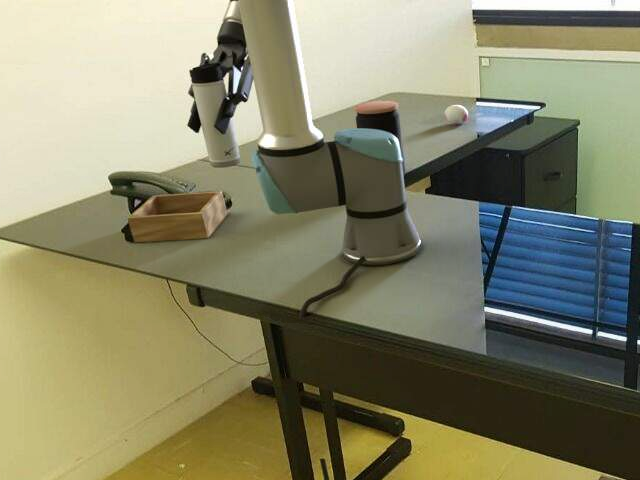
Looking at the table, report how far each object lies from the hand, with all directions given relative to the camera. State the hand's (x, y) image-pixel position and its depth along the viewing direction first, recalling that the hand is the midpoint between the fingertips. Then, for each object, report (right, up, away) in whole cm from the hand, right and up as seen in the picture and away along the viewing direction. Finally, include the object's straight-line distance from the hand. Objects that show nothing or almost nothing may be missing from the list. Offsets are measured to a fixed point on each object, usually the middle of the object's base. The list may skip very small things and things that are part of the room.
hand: (206, 129), depth 159 cm
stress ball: (+49, +31, +90) cm, 107 cm away
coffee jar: (+31, +1, +41) cm, 52 cm away
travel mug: (+2, -5, +7) cm, 9 cm away
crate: (-11, -17, +17) cm, 26 cm away
